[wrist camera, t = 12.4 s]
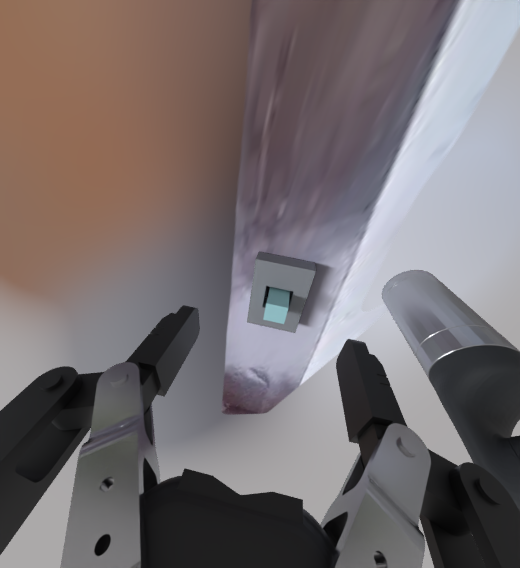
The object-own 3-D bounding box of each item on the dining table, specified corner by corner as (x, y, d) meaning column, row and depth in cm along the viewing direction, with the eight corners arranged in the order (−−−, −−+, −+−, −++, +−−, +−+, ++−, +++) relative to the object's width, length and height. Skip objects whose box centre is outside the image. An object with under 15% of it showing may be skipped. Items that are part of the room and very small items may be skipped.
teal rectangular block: (290, 284, 42) (288, 307, 35) (286, 299, 44) (283, 324, 37) (271, 280, 42) (266, 303, 35) (268, 295, 44) (263, 319, 38)
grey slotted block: (259, 251, 39) (255, 259, 36) (314, 262, 38) (315, 271, 35) (250, 312, 48) (247, 322, 45) (295, 322, 47) (295, 333, 44)
